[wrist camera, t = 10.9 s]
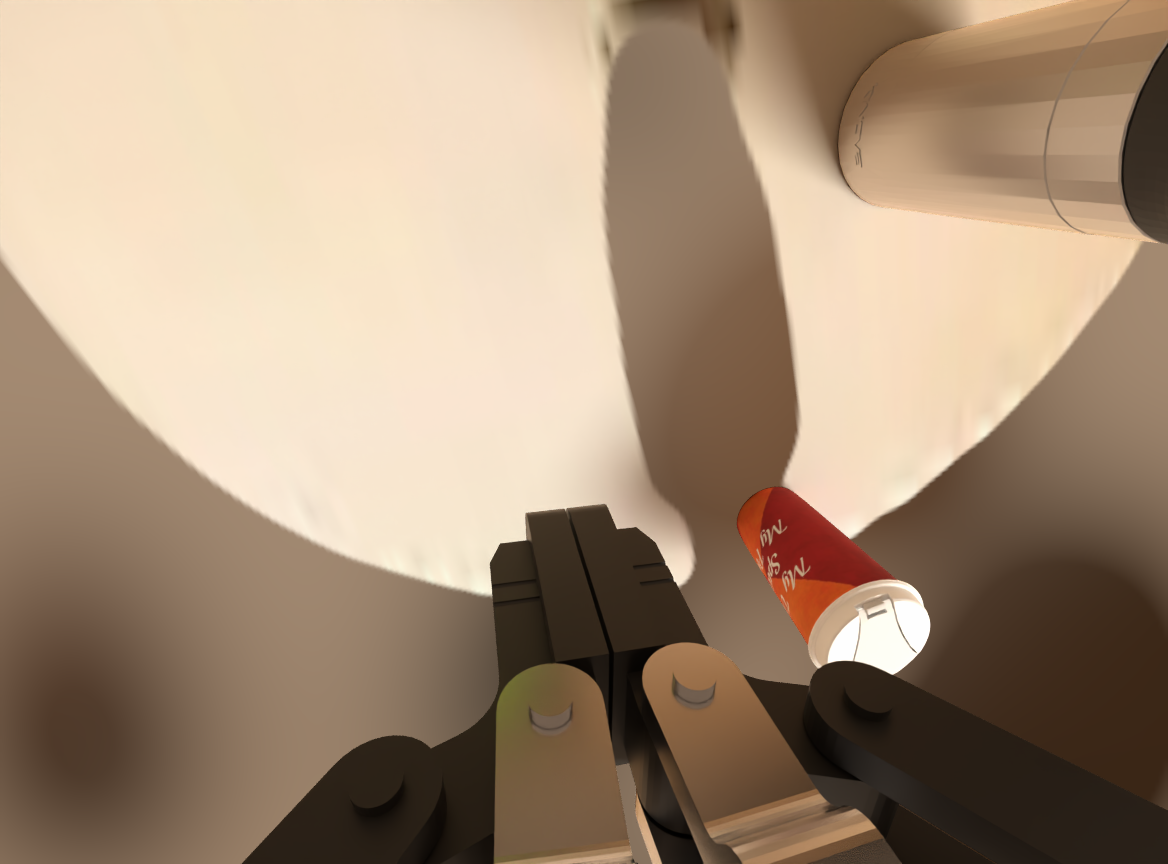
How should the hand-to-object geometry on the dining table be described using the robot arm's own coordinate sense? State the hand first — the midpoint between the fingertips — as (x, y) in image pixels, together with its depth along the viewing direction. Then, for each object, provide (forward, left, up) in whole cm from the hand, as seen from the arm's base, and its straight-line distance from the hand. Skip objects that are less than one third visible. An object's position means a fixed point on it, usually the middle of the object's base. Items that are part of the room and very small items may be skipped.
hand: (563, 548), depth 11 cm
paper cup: (-21, +20, -27) cm, 40 cm away
